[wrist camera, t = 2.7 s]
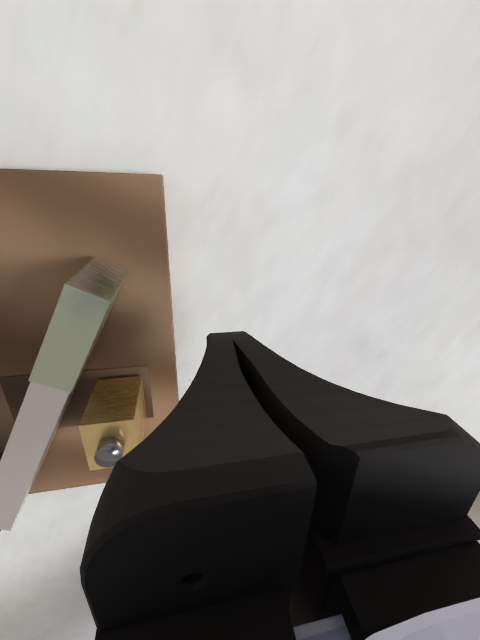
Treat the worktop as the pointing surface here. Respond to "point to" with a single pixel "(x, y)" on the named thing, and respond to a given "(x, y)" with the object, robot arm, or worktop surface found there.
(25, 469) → the bar
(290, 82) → the worktop surface
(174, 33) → the worktop surface
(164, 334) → the board
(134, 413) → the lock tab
